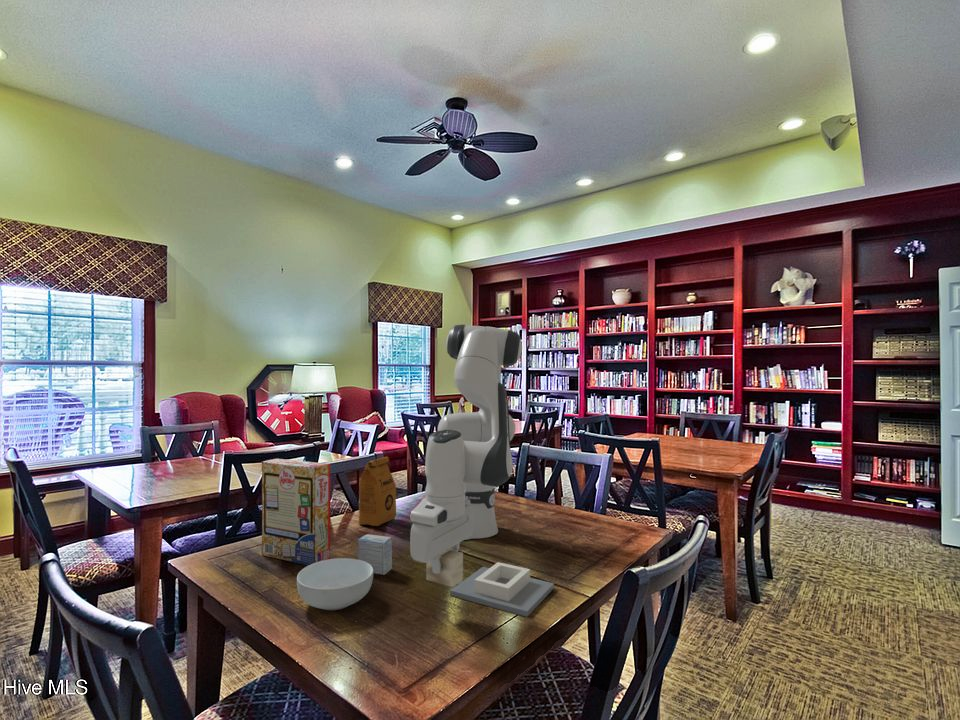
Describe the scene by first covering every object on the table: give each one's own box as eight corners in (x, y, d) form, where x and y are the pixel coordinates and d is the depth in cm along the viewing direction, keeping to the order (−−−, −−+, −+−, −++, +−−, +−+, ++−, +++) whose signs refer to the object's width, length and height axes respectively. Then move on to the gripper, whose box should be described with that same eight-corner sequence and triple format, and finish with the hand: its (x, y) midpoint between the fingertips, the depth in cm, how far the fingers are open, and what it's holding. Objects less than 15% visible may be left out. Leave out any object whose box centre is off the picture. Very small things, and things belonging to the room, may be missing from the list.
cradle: (450, 595, 119) (450, 577, 119) (482, 571, 133) (482, 555, 133) (527, 616, 109) (527, 597, 109) (553, 588, 123) (553, 571, 123)
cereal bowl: (299, 627, 105) (299, 593, 105) (294, 593, 120) (294, 564, 120) (380, 611, 111) (380, 579, 111) (365, 581, 127) (365, 553, 127)
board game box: (331, 560, 140) (331, 463, 140) (315, 568, 134) (315, 467, 134) (277, 548, 148) (277, 457, 148) (259, 556, 143) (260, 461, 143)
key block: (426, 579, 111) (426, 552, 111) (436, 572, 114) (436, 546, 114) (452, 587, 107) (453, 559, 107) (462, 579, 111) (463, 552, 111)
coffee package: (400, 519, 176) (401, 456, 176) (377, 529, 165) (377, 463, 165) (378, 515, 181) (379, 454, 181) (354, 525, 170) (354, 460, 170)
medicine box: (392, 569, 134) (392, 536, 134) (383, 576, 130) (384, 542, 130) (366, 565, 137) (366, 533, 137) (357, 571, 132) (357, 538, 132)
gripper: (458, 492, 121) (457, 549, 121) (405, 515, 103) (404, 582, 103) (480, 496, 118) (480, 554, 118) (430, 520, 100) (429, 589, 100)
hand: (444, 567), depth 111 cm, fingers closed on key block, 4 cm apart
